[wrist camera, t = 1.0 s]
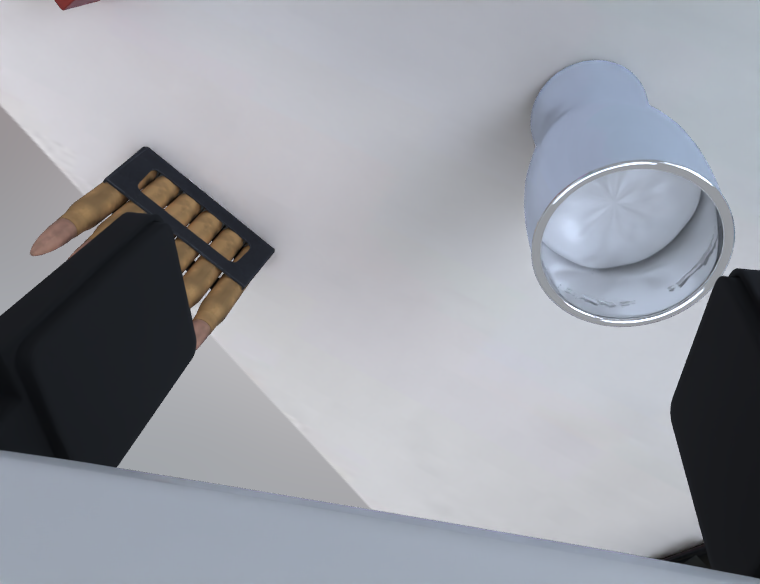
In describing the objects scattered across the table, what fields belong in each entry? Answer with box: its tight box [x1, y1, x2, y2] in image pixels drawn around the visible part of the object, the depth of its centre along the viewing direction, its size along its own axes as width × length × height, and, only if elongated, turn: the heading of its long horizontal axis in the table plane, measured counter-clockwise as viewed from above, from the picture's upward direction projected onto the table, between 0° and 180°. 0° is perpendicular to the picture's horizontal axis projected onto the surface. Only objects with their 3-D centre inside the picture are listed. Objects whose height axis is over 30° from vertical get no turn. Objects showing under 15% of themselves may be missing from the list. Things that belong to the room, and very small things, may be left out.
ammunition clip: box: [30, 147, 274, 350], centre depth 36 cm, size 11×2×12 cm, turn 49°
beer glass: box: [524, 60, 735, 327], centre depth 27 cm, size 7×7×15 cm
